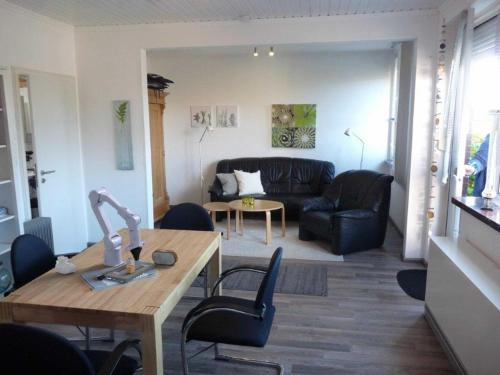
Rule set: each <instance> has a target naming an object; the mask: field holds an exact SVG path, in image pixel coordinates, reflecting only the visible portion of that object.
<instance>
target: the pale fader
mask: <svg viewBox="0 0 500 375" xmlns="http://www.w3.org/2000/svg"><path fill="white" fill-rule="evenodd" d="M125 263H126V264H127V265H129V264H131V265H135V261H134V258H133V257H128V258H126V260H125Z"/></svg>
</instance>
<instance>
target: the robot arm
mask: <svg viewBox="0 0 500 375" xmlns="http://www.w3.org/2000/svg"><path fill="white" fill-rule="evenodd" d="M88 200H89V201H90V206H91V207H90V208H91V209H92V211H93V214H94V216H95V219H96V221H97V222H98V224H99V226H100V228H101V231H102V233H103V235H104V236H103V238H102V241H103V246H104V248H105V249H104V251H103V264H102V265H103V266H109V267H115V268H116V267H118V266H119V267H120V265H121V266H122V265H123V264H125V263H126V260H125V261H123V258H122V256H123V255H122V245H123V244H124V240H123V238H122V236H121V235H120V234H119V232H117V231H115V230H114V228H113V225H112V223H111V222H110V220H109V218H108V215H107V213H106V211H105V209H104V206H103V205H104V202H106V203H107V204H108V205H109V206H111V207H112V208H114V209H115V210H116V213H117V215H119V216H120V217H121V218H122V219H123V220H124V221H125V224H126V226H127V228H128V235H129V236H128V237H129V245H128V246H127V247H124V251H125V252H126V253H129V252H130V254H131V255H132V258H134V260H135V261H140V256H141V252H142V250H143V246H144V245H146V240H141V231H140V230H141V228H140V224H141V223H142V219H141V216H140V215H139V214H138V213H134V212H133V211H131V210H130V209H129V207H128V206H126V205H122V204H121V203H120V202H119V201H118V200H117V199H116V198H115V197H114V196H113V195H112V193H111V191H110V190H109V189H108V188H107V187H100V188H95V189H91V190H90V191H89V194H88Z"/></svg>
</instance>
